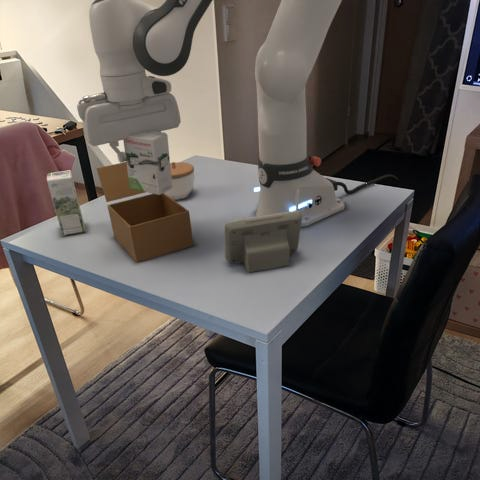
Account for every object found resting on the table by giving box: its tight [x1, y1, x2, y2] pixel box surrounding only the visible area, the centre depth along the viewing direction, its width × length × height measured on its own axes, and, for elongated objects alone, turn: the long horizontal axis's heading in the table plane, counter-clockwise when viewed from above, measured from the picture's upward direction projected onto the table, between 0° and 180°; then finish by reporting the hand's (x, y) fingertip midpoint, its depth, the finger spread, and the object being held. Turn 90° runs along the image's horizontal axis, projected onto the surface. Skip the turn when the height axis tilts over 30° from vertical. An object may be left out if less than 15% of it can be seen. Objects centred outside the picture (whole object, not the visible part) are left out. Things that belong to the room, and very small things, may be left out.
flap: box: [96, 161, 147, 203], centre depth 124 cm, size 8×14×1 cm
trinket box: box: [164, 161, 195, 201], centre depth 146 cm, size 11×11×9 cm
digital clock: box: [224, 211, 302, 273], centre depth 109 cm, size 16×9×11 cm, turn 91°
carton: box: [107, 193, 194, 263], centre depth 122 cm, size 16×14×8 cm
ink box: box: [122, 131, 172, 195], centre depth 112 cm, size 9×5×12 cm, turn 60°
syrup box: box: [46, 169, 86, 237], centre depth 129 cm, size 6×6×14 cm
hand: (139, 157), depth 113 cm, fingers closed on ink box, 6 cm apart
